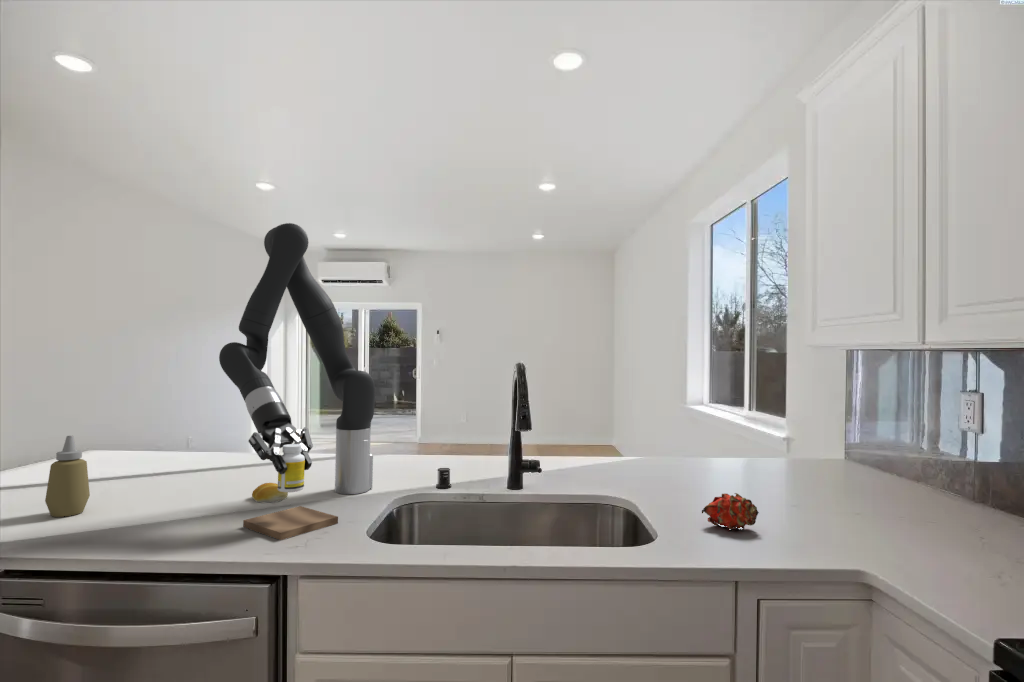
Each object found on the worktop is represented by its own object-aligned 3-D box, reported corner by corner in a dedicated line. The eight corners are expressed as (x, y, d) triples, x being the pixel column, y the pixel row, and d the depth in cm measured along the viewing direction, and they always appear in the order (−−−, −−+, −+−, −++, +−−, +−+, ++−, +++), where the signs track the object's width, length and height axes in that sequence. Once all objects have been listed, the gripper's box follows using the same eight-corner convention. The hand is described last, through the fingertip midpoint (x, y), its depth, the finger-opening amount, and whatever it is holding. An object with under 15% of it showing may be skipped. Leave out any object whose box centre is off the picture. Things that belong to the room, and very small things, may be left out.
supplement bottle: (309, 488, 123) (310, 444, 123) (292, 494, 118) (293, 448, 118) (289, 486, 125) (291, 442, 125) (271, 491, 120) (273, 446, 120)
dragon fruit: (763, 540, 120) (706, 542, 124) (755, 508, 127) (701, 511, 131) (762, 514, 116) (702, 517, 119) (754, 483, 123) (698, 487, 126)
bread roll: (259, 505, 137) (259, 489, 137) (248, 498, 144) (249, 483, 144) (293, 500, 143) (293, 484, 143) (281, 493, 149) (281, 478, 149)
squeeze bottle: (96, 511, 129) (99, 435, 130) (56, 521, 122) (59, 439, 122) (77, 507, 133) (79, 432, 133) (36, 516, 125) (39, 436, 126)
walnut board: (300, 512, 131) (300, 506, 131) (337, 523, 123) (338, 516, 123) (243, 527, 120) (243, 520, 120) (280, 540, 112) (280, 532, 112)
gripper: (244, 401, 120) (273, 464, 113) (302, 398, 132) (332, 454, 125) (230, 423, 123) (258, 486, 116) (288, 418, 135) (316, 475, 128)
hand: (296, 469), depth 121 cm, fingers closed on supplement bottle, 5 cm apart
